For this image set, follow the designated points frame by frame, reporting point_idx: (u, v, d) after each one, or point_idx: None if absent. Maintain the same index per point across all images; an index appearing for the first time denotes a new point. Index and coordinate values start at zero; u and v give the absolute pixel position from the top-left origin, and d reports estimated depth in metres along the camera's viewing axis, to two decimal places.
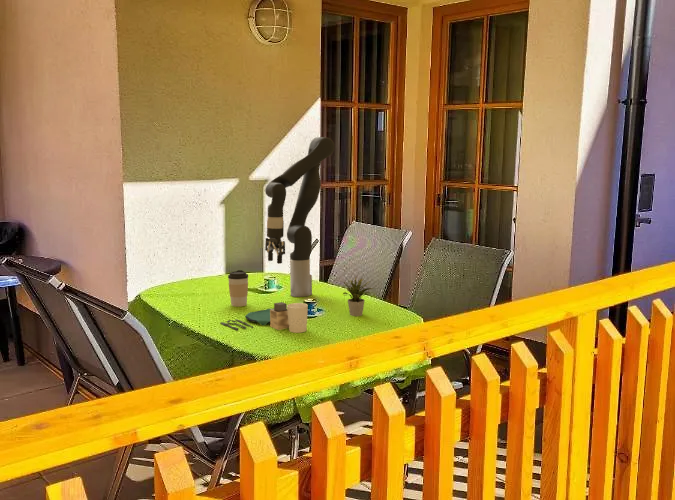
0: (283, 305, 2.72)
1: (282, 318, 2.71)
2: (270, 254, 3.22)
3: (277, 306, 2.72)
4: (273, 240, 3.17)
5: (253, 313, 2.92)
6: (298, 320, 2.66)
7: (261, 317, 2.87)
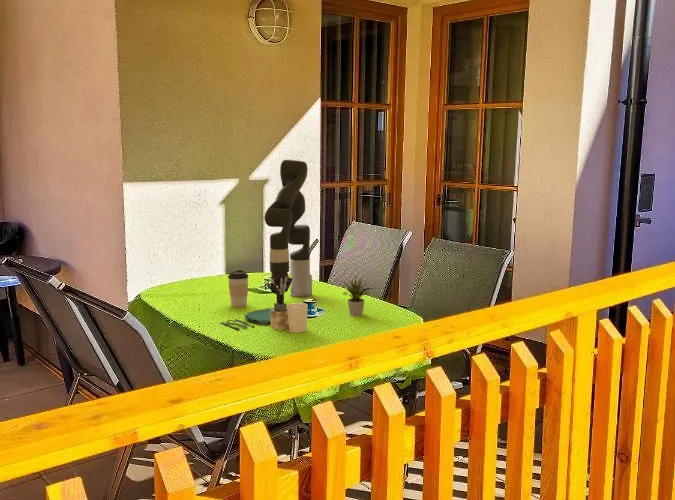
0: (283, 305, 2.72)
1: (282, 318, 2.71)
2: None
3: (277, 306, 2.72)
4: (282, 275, 2.71)
5: (252, 313, 2.92)
6: (298, 320, 2.66)
7: (261, 317, 2.87)
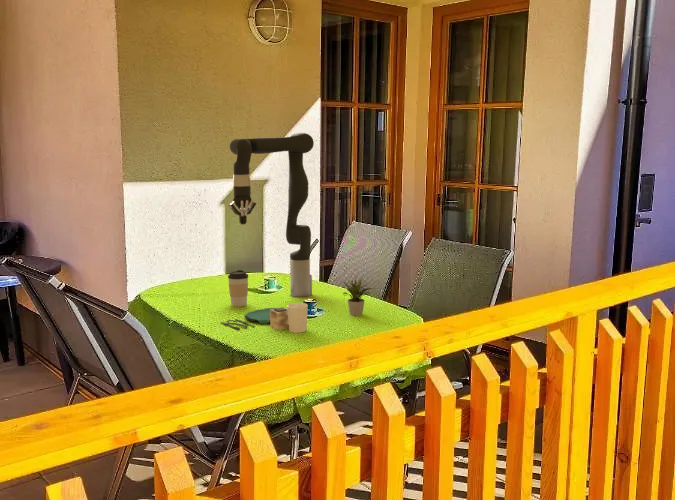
0: (283, 310, 2.73)
1: (282, 318, 2.71)
2: None
3: (277, 311, 2.72)
4: (244, 199, 3.06)
5: (252, 313, 2.92)
6: (298, 320, 2.66)
7: (260, 316, 2.88)
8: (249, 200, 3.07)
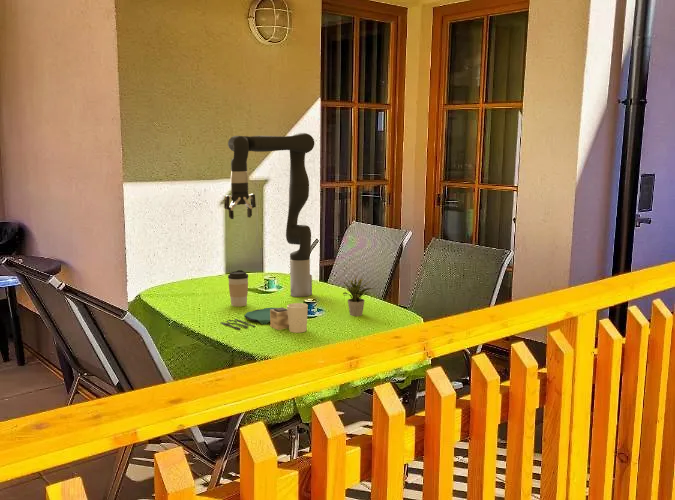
0: (283, 310, 2.73)
1: (282, 318, 2.71)
2: None
3: (277, 311, 2.72)
4: (241, 195, 3.09)
5: (251, 312, 2.93)
6: (298, 320, 2.66)
7: (260, 316, 2.88)
8: (247, 197, 3.10)
